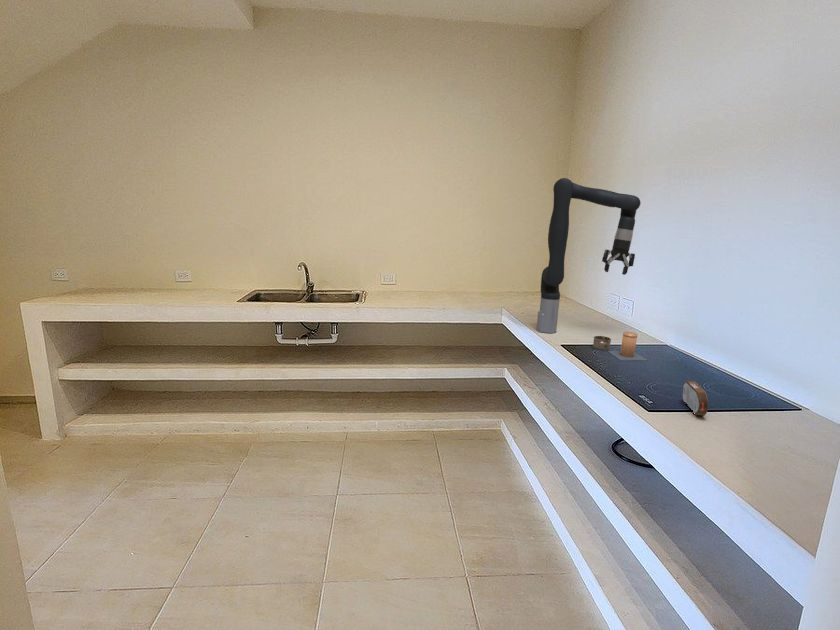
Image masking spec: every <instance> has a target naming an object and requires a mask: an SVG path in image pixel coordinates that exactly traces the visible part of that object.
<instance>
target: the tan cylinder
mask: <svg viewBox="0 0 840 630" xmlns="http://www.w3.org/2000/svg"><path fill="white" fill-rule="evenodd" d="M637 338H638V333H636V332H635V331H624V332H622V338H621V339H622V341H621V345H620V346H621V347H620V351H621V353H620V355H621V356H624V357H634V354H635V353H636V348H637V341H638V339H637Z"/></svg>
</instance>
